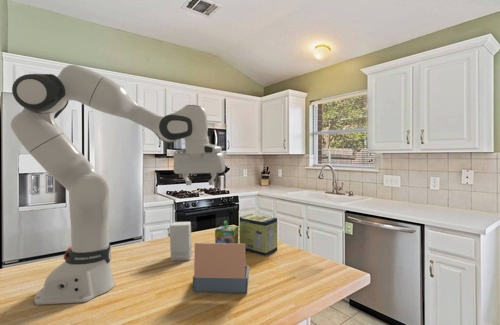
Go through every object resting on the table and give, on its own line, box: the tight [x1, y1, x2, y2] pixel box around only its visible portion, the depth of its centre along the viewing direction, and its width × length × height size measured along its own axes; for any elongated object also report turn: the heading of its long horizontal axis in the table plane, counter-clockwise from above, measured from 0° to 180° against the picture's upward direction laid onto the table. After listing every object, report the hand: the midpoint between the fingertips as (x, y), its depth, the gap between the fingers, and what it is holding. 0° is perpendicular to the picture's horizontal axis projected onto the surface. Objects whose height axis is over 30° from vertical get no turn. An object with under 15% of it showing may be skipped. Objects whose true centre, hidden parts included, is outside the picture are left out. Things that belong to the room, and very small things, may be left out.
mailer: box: [192, 264, 250, 294], centre depth 97 cm, size 18×11×5 cm, turn 88°
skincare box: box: [169, 221, 193, 262], centre depth 122 cm, size 8×7×16 cm
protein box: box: [239, 213, 278, 257], centre depth 133 cm, size 10×16×16 cm
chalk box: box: [214, 219, 239, 244], centre depth 129 cm, size 9×9×15 cm
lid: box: [193, 242, 246, 278], centre depth 91 cm, size 17×11×1 cm
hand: (200, 185), depth 105 cm, fingers open, 8 cm apart
